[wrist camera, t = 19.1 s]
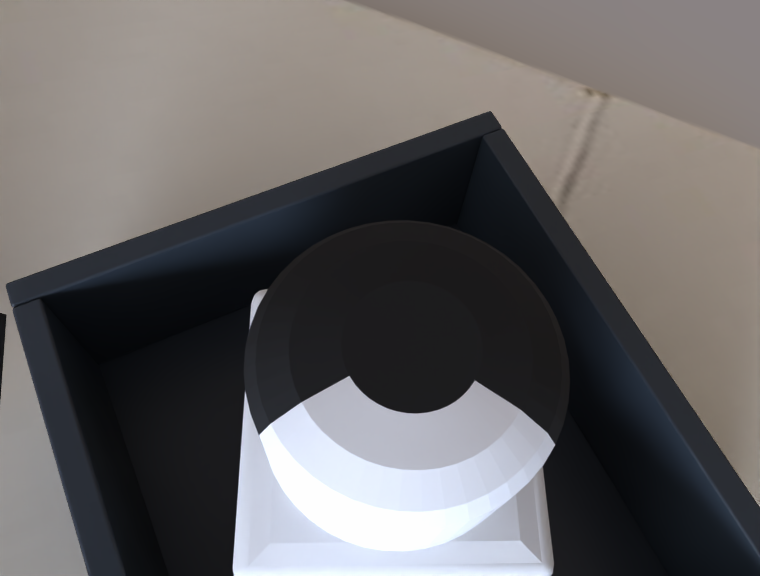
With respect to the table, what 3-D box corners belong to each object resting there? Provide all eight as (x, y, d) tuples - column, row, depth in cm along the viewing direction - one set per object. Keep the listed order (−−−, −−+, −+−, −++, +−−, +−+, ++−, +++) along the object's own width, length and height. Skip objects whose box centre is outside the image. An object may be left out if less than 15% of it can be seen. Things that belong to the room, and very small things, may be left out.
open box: (77, 362, 25) (3, 282, 20) (461, 212, 29) (491, 109, 23) (246, 894, 19) (210, 1002, 13) (708, 617, 23) (831, 610, 17)
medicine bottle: (272, 376, 25) (223, 173, 14) (477, 376, 25) (583, 179, 14) (260, 601, 21) (184, 564, 11) (495, 598, 22) (648, 558, 11)
